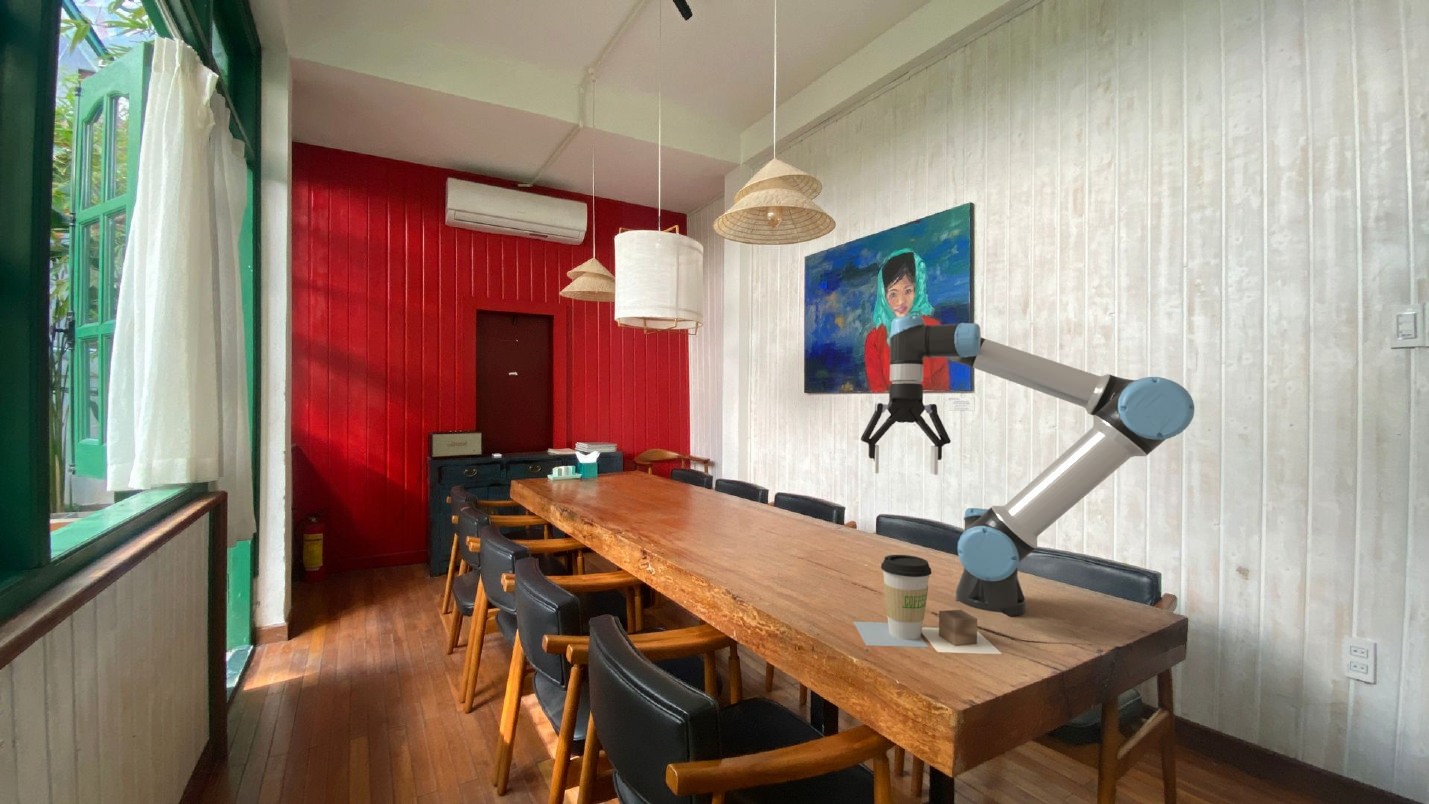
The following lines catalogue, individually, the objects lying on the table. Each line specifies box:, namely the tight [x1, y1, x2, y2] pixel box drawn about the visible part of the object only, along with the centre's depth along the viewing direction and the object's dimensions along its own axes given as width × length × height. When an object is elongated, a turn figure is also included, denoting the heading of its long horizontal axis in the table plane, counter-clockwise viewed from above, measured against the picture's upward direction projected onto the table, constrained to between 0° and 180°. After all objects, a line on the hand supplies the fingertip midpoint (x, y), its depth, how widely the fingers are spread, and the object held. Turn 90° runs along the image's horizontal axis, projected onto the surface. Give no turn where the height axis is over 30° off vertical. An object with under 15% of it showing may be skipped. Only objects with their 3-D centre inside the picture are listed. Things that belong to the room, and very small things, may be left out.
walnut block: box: [938, 609, 978, 646], centre depth 113 cm, size 5×5×5 cm
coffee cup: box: [880, 554, 932, 640], centre depth 116 cm, size 10×10×15 cm
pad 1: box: [853, 621, 930, 651], centre depth 116 cm, size 12×12×1 cm
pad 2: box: [921, 626, 1003, 655], centre depth 113 cm, size 12×12×1 cm
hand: (904, 473), depth 134 cm, fingers open, 13 cm apart
